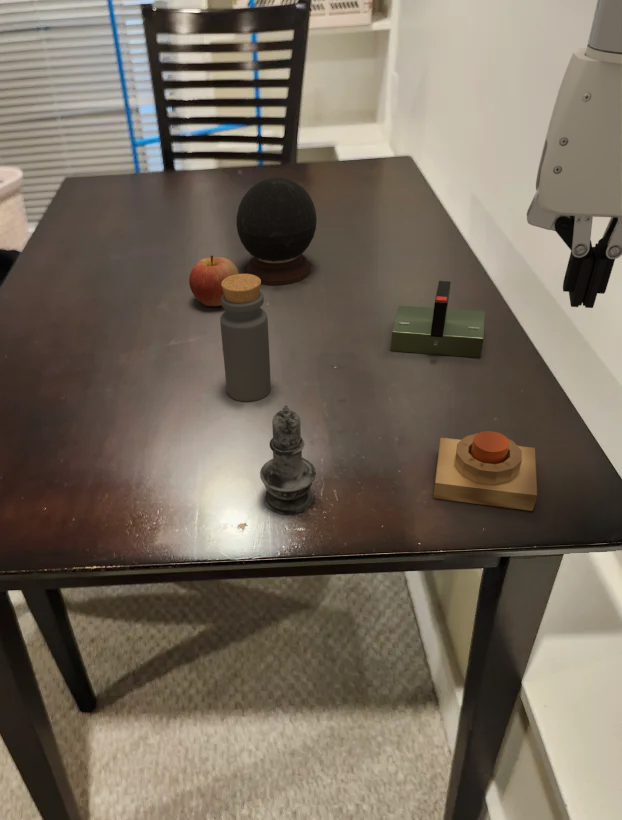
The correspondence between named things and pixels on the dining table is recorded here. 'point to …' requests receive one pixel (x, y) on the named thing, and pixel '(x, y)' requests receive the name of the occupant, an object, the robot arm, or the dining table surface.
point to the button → (490, 447)
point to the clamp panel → (458, 334)
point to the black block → (440, 309)
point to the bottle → (245, 338)
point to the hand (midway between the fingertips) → (580, 299)
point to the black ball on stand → (277, 230)
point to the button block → (485, 476)
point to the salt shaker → (287, 467)
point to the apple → (210, 279)
